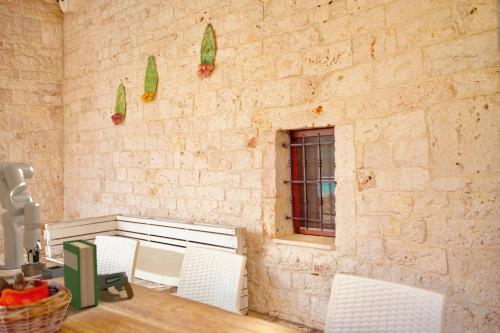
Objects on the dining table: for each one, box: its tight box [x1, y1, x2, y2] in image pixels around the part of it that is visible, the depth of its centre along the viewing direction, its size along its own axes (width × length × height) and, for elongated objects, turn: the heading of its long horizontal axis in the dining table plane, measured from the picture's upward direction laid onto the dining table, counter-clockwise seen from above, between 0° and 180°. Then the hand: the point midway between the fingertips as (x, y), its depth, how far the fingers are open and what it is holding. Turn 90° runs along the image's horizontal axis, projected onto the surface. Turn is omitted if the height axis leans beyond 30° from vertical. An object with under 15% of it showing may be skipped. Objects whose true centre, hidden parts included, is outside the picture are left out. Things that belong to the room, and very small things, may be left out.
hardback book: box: [62, 239, 99, 311], centre depth 170 cm, size 18×7×24 cm, turn 40°
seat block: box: [41, 264, 64, 280], centre depth 215 cm, size 9×9×4 cm
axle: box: [28, 252, 38, 266], centre depth 220 cm, size 4×4×11 cm
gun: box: [97, 271, 134, 299], centre depth 183 cm, size 3×25×15 cm, turn 50°
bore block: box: [20, 261, 47, 278], centre depth 220 cm, size 8×8×5 cm
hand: (33, 261), depth 220 cm, fingers closed on axle, 4 cm apart
